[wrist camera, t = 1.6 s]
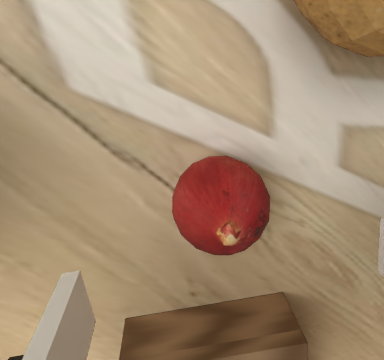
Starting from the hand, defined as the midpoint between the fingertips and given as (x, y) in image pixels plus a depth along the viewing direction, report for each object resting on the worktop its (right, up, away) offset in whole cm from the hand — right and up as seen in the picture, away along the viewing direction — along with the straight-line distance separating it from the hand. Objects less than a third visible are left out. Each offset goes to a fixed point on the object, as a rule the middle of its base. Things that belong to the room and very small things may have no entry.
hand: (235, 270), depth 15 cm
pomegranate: (0, +4, +9) cm, 10 cm away
